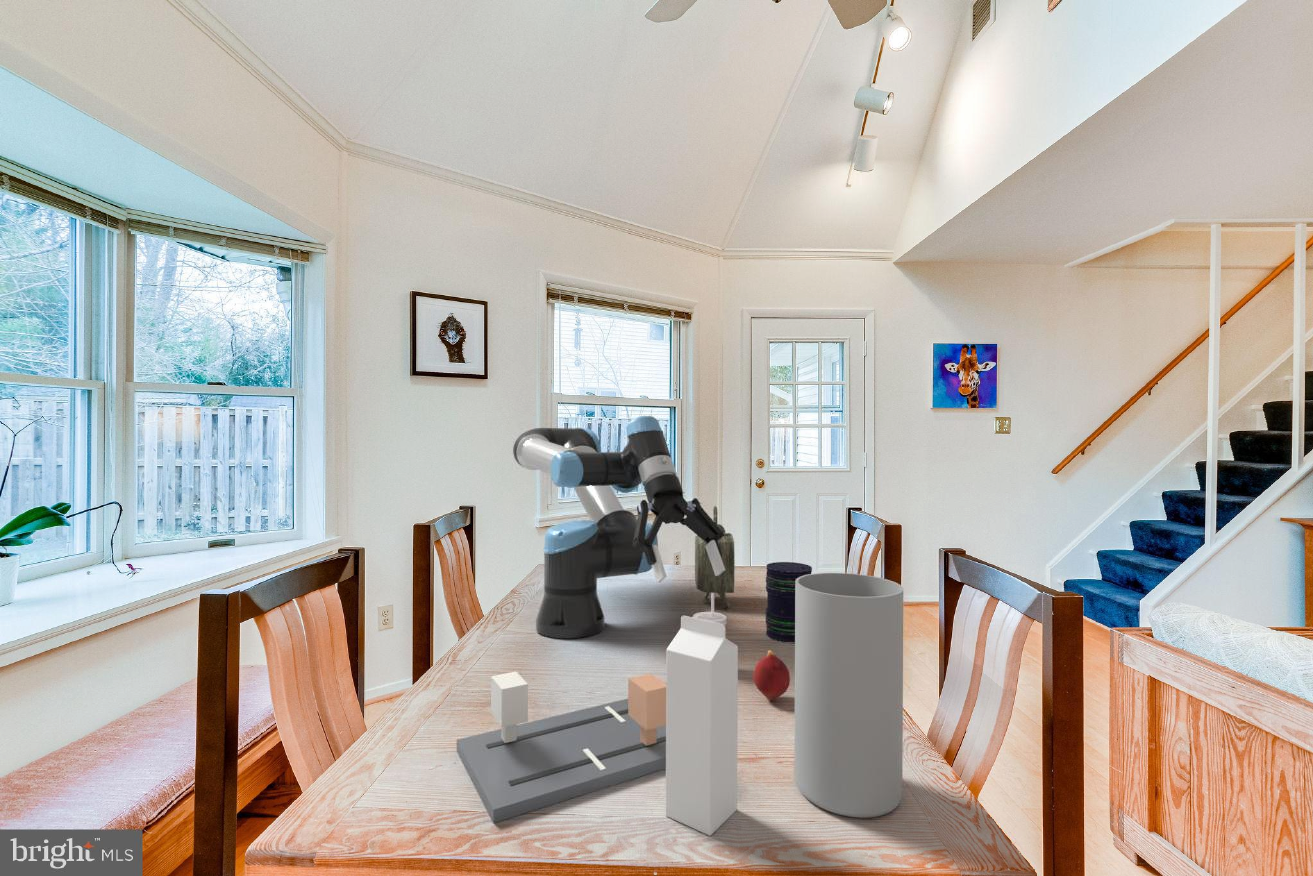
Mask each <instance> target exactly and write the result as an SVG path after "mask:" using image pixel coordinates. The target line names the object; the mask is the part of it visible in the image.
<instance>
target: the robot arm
mask: <svg viewBox="0 0 1313 876" xmlns="http://www.w3.org/2000/svg"><path fill="white" fill-rule="evenodd" d="M625 429H626V438H627V439H628V442H627V444H626V445H625V447H624V448H623V450H622V451H621V452H620V451H615V452H613V451H612V452H611V451H610V452H609V451H606V452H605V451H604V452H602V447H601V446H600V439H599V437H598V435H597V434H596V433H595V432H594V431H593V430H591V429H590V428H583V427H574V428H572V427H571V428H568V427H567V428H565V427H564V428H562V427H561V428H560V427H557V428H556V427H535V428H532V429H529V430H527V431H525V432H523V433H521V434H520V435H519V436H518V437H517V438H516V439H515V442H514V444H513V447H512V451H513V452H512V454H513V458H514V460H515V461H516V463H518V465H520V467H521V468H524V469H526V470H530V471H538V470H539V471H541V472H543V473H545V474H547V475H549V476H550V478H551V481H552V482H553V484H554V485H555V486H556V487H558V488H568V489H569V488H570V489H571V488H572V489H574V491H575V493H576V495H577V497H578V498H579V500H580V503H581V505H582V507H583V509H584V510H585V512H586V514H587V516H588V519H589V520H586V519H582V520H573V521H567V522H566V521H565V522H562V523H559V524H556V525H553V526H551V527H549V528H548V529H547V531H546V532H545V535H544V546H543V553H544V554H543V555H544V556H543V557H544V560H543V561H544V562H543V563H544V564H543V567H544V569H543V570H544V571H543V573H544V578H543V579H544V580H543V582H544V584H543V585H544V587H543V590H544V592H543V597H542V600H541V603H540V607H539V608H538V609H539V610H538V613H537V616H536V620H535V631H536V630H537V631H538V632H537V631H536V632H537V633H538V634H539V633H541V634H542V636H544V635H545V637H548V636H549V637H548V638H554V639H576V638H577V639H578V638H583V637H586V638H587V637H589V636H593V635H596V634H599V633H600V632H602V631H603V630H604V629H605V614H604V611H603V609H602V605H601V602H600V599H599V595H598V592H597V591H598V588H597V585H598V583H597V582H598V579H603V578H609V577H610V578H611V577H612V578H613V577H618V576H619V577H620V576H629V575H635V576H637V575H639V574H643V573H646V572H649V571H651V570H652V571H653V573H654V578H655V580H656V584H659V583H662V581H664V580H665V579H666V578H667V573H666V570H665V567H664V563H663V561H662V557H661V554H660V550H659V541H658V532H659V531H660V529H661V526H662V524H663V523H664V524H665V525H667V524H668V525H669V524H671V523H672V524H678V523H680V524H681V525H682V526H686V527H687V528H689V529H690V531H692V532H693V533H694V534H695V535H696V536H697V535H698V536H699V537H700V538H701V539H702V540H704V541H705V542H706V543H707V545H706V546H705V547H706V550H707V553H708V556H709V559H710V562H711V565H712V567H713V570H714V573H715V576H719V575H720V574H721V573H722V572H723V571H725V567H724V565H723V562H722V559H721V556H722V552H721V549H720V546H719V544H718V541H719V540H720V539H721V538H722V537H723V536H724V533H723V532H722V531H721V530H720V528H719V527H718V526H717V525H716V524H715V522H714V521H713V518H712V517H710V515H709V514H708V513H707V512H706V510H705V509H704V508H703V507H702V505H701V503H700V501H699V499H698V498H696V497H694V498H693V499H691V500H690V501H687V500H686V499H685V498H684V492H683V491H684V490H683V486H682V485H681V482H680V478H679V477H678V473H677V471H676V470H677V469H676V467H675V464H674V462H673V458H672V456H671V453H670V450H669V446H668V444H667V441H666V438H665V434H664V431H663V429H662V428H661V426H660V422H659V420H658V419H657V418H655V416H651V415H640V416H637V417H636V418H633V419H632V420H630V421H629V423H627V426H626V427H625ZM641 484H642V486H643V487H644V488H643V489H644V492H645V495H646V499H647V500H646V499H642V500H641V501H640V503H639V504H638V505H637V506H636V511H637V517H636V515H635V514H634V513H633V512H632V511H630V510H629V509H624V507H623V505H622V504H621V502H620V501H619V498H618V497H617V496H616V493H615V492H614V490H615V491H619V492H620V493H623V494H628V493H632V492H633V491H635V490H636V489H637V487H638V486H640V485H641ZM649 512H652V514H654V516H655V517H654V520H653V521H652V524H651V523H650V522H648V518H649ZM685 516H686V517H685ZM709 537H710V538H709ZM541 634H540V635H541Z"/></svg>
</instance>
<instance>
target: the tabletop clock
mask: <svg viewBox="0 0 1313 876" xmlns="http://www.w3.org/2000/svg"><path fill="white" fill-rule="evenodd" d="M712 511H713V518H712V520H713V521H714V522H715V524H716V525H717V526H718V527H719V528H720V530H721V531H722V532H723V533H724V536H723V537H722V538H721V539H720V540H719V541H718V544H719V546H720V549H721V552H722V556H721V559H722V562H723V565H724V567H725V571H723V572H722V573H721V574H720V575H719V576H715V573H714V570H713V567H712V565H711V562H710V559H709V556H708V553H707V550H706V547H705V546H706V545H707V543H706V542H705V541H704V540H702V539H701V538H700V537H699V536H698V535H697V534H696V535H695V537H694V538H695V540H694V582H695V588H696V589H697V590H699V591H700V592H702V593H706V594H705V596H704V597H703V598H702V602H703V603H704V604H708V603H710V598H709V595H710V594H711V593H714V594H718V595H719V596H718V597H720V598H721V600H722V601H723V604H722V608H723V609H725V610H728V609H729V608H730V602H727V601H726V598H725V597H726V594H733V593H735V569H736V568H735V566H736V564H735V540H734V537H733V534H732V533H730V532H726V530H725V527H724V526H723V525H722V524H719V523H718V508H717V506H716V505H715V506H713V510H712ZM709 538H710V537H709Z"/></svg>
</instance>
